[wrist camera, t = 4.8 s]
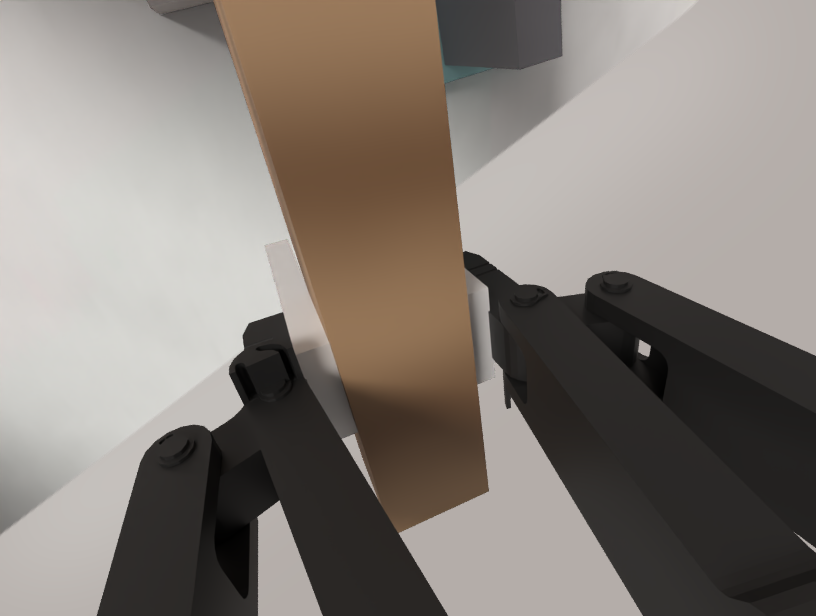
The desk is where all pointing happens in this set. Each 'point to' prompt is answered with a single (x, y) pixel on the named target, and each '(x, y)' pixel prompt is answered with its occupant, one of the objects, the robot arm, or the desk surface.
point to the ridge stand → (497, 34)
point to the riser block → (174, 5)
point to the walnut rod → (373, 226)
